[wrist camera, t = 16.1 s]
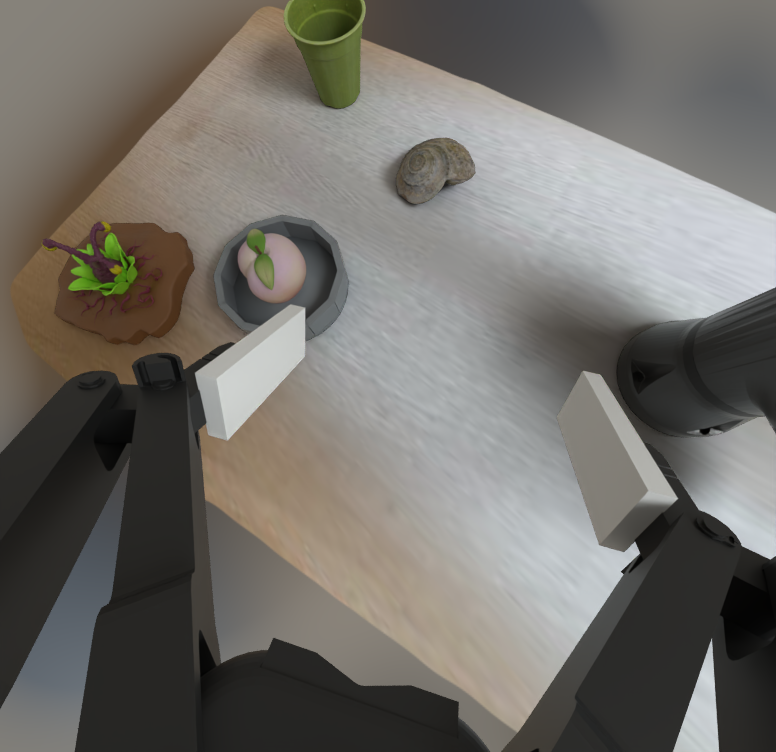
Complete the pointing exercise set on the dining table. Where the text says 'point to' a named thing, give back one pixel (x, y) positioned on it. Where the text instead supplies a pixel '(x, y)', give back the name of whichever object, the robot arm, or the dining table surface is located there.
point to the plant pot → (329, 45)
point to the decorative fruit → (272, 266)
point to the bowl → (317, 294)
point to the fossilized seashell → (433, 169)
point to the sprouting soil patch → (124, 281)
